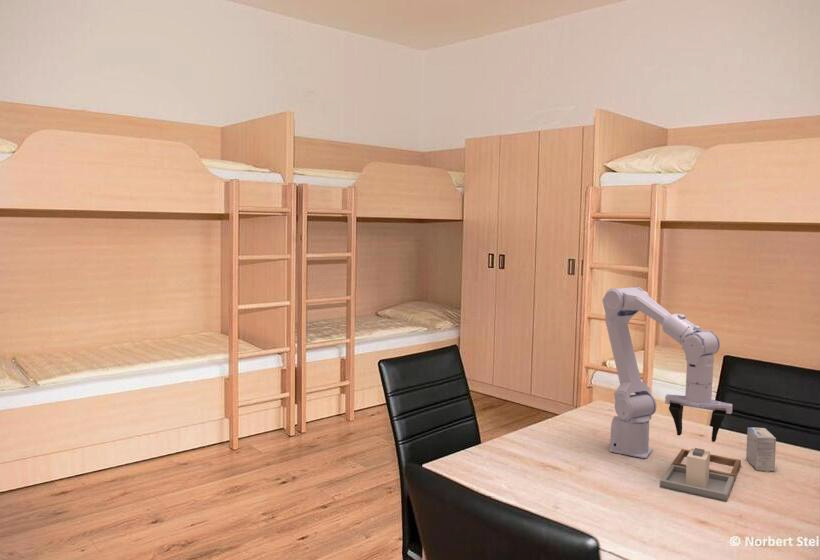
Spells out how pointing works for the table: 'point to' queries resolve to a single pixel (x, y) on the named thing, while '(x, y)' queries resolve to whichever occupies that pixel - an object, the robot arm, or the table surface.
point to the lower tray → (714, 489)
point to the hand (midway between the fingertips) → (696, 437)
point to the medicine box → (761, 449)
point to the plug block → (697, 468)
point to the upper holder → (713, 458)
